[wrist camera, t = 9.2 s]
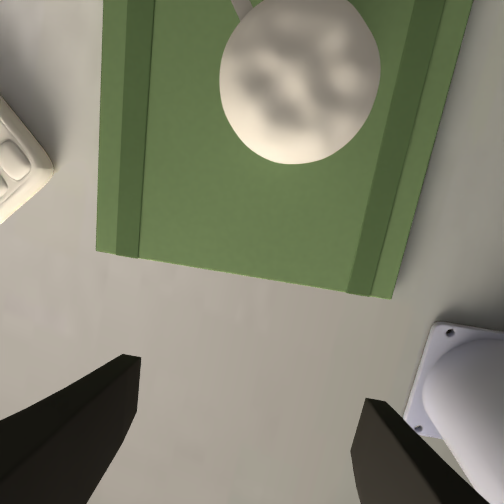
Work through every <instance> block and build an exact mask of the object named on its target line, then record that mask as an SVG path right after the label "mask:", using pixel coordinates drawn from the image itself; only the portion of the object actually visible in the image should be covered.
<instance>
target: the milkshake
mask: <svg viewBox="0 0 504 504" xmlns="http://www.w3.org/2000/svg"><path fill="white" fill-rule="evenodd" d="M230 1H231V3H232V5H233V7H234V9H235V11H236V13H237V16H238V18H239V20H240V23H239V24H238V25H237V27H236V28H235V30H234V31H233V33H232V34H231V36H230V38H229V40H228V42H227V44H226V46H225V49H224V52H223V55H222V60H221V65H220V77H219V84H220V96H221V101H222V106H223V109H224V112H225V115H226V117H227V119H228V121H229V123H230V125H231V127H232V128H233V130H234V131H235V133H236V134H237V135H238V137H239V138H240V139H241V141H242V142H243V143H244V144H245V145H246V146H247V147H248V148H250V149H251V150H252V151H253V152H255V153H256V154H258V155H260V156H261V157H263V158H265V159H268V160H270V161H273V162H276V163H282V164H303V163H310V162H314V161H318V160H321V159H324V158H326V157H328V156H330V155H332V154H334V153H335V152H337V151H338V150H339V149H341V148H342V147H343V146H345V145H346V144H347V143H348V142H349V141H350V140H351V139H352V138H353V137H354V136H355V135H356V134H357V132H358V131H359V130H360V129H361V127H362V126H363V124H364V123H365V121H366V119H367V117H368V116H369V113H370V111H371V109H372V106H373V104H374V101H375V98H376V95H377V91H378V87H379V81H380V73H381V64H380V56H379V51H378V47H377V44H376V41H375V39H374V37H373V35H372V33H371V31H370V29H369V28H368V26H367V25H366V23H365V21H364V20H363V18H362V17H361V15H360V14H359V12H358V11H357V10H356V8H355V7H354V6H353V5H352V4H351V3H350V2H349V1H347V0H263V1H262V2H261V3H259V4H258V5H257V6H255V7H254V8H253V6H252V4H251V1H250V0H230Z"/></svg>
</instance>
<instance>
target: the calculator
mask: <svg viewBox="0 0 504 504" xmlns="http://www.w3.org/2000/svg"><path fill="white" fill-rule="evenodd" d="M53 171H54V168H53V164H52V162H51V160H50V158H49V156H48V155H47V153H46V152H45V151H44V149H43V148H42V146H41V145H40V144H39V143H38V141H37V140H36V139H35V138H34V136H33V135H32V134H31V133H30V131H29V130H28V129H27V128H26V126H25V125H24V124H23V123H22V121H21V120H20V119H19V118H18V116H17V115H16V114H15V113H14V111H13V110H12V109H11V108H10V107H9V105H8V104H7V103H6V102H5V100H4V99H3V98H2V97H1V95H0V224H1V223H3V222H4V221H5V220H6V219H7V218H8V217H10V216H11V215H12V214H13V213H14V212H15V211H16V210H18V209H19V208H20V207H21V206H22V205H23V204H24V203H26V202H27V201H28V200H29V199H30V198H31V197H32V196H34V195H35V194H36V193H37V192H38V191H39V190H40V189H41V188H42V187H43V186H45V185H46V184H47V183H48V182H49V180H50V179H51V177H52V176H53Z"/></svg>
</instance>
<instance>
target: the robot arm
mask: <svg viewBox="0 0 504 504" xmlns="http://www.w3.org/2000/svg"><path fill="white" fill-rule="evenodd" d="M449 329H452V331H451V332H450V333H449V334H446V332H447V330H449ZM140 367H141V357H136V356H131V355H125V354H122V355H120V356H118V357H117V358H115V359H113V360H111V361H110V362H108V363H106V364H105V365H103V366H101V367H100V368H98V369H96V370H95V371H93V372H91V373H90V374H88V375H86V376H85V377H83V378H81V379H79V380H78V381H76V382H74V383H72V384H71V385H69V386H67V387H66V388H64V389H62V390H60V391H58V392H56V393H54V394H52V395H51V396H49V397H47V398H45V399H43V400H41V401H39V402H37V403H35V404H34V405H32V406H30V407H28V408H26V409H24V410H22V411H20V412H18V413H15V414H13V415H11V416H9V417H7V418H5V419H3V420H0V504H86V503H87V502H88V500H89V498H90V497H91V495H92V493H93V492H94V490H95V488H96V487H97V485H98V483H99V482H100V480H101V478H102V477H103V475H104V473H105V472H106V470H107V468H108V467H109V465H110V463H111V462H112V460H113V458H114V457H115V455H116V453H117V451H118V450H119V448H120V446H121V445H122V443H123V441H124V438H125V436H126V434H127V432H128V430H129V428H130V425H131V423H132V421H133V419H134V416H135V414H136V412H137V403H138V391H139V379H140ZM418 425H420V426H419V427H416V426H418ZM415 427H416V428H415ZM419 435H422V436H428V437H433V438H439V439H443V440H444V441H445V443H446V444H447V446H448V447H449V449H450V451H451V452H452V454H453V455H454V457H455V459H456V460H457V462H458V463H459V465H460V466H461V468H462V470H463V471H464V473H465V474H466V476H467V477H468V479H469V481H470V482H471V484H472V485H473V487H474V489H475V490H476V491H475V490H474V489H473V488H472V487H471V486H470V485H469V484H468V483H467V482H466V481H465V480H464V479H463V478H462V477H460V476H459V475H458V474H457V473H456V472H455V471H454V470H453V469H452V468H451V467H450V466H449V465H448V464H447V463H446V462H445V461H444V460H443V459H442V458H441V457H440V456H439V455H438V454H437V453H436V452H435V451H434V450H433V449H432V448H431V447H430V446H429V445H428V444H427V443H426V442H425V441H424V440H423V439H422V438H421V437H420V436H419ZM351 457H352V464H353V471H354V476H355V482H356V487H357V491H358V495H359V499H360V502H361V504H504V332H502V331H496V330H490V329H484V328H478V327H472V326H466V325H460V324H454V323H448V322H436V323H434V324H433V325H432V327H431V330H430V333H429V336H428V339H427V342H426V346H425V349H424V352H423V355H422V358H421V361H420V365H419V368H418V371H417V374H416V377H415V381H414V384H413V387H412V390H411V393H410V396H409V400H408V403H407V406H406V409H405V412H404V416H403V418H402V417H401V416H400V415H399V414H398V413H397V412H396V411H395V410H394V409H393V408H392V407H391V406H390V405H389V404H388V403H386V402H385V401H380V400H375V399H369V398H366V399H365V402H364V406H363V409H362V413H361V416H360V420H359V423H358V427H357V430H356V433H355V437H354V440H353V444H352V447H351Z"/></svg>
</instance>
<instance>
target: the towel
mask: <svg viewBox="0 0 504 504" xmlns="http://www.w3.org/2000/svg"><path fill="white" fill-rule="evenodd" d="M250 1H251V4H252V6H253V8H254V7H255V6H257V5H258V4H259V3H261V2H262V1H263V0H250ZM347 1H349V2H350V3H351V4H352V5H353V6H354V7H355V8H356V10H357V11H358V12H359V14H360V15H361V17H362V18H363V20H364V21H365V23H366V25H367V26H368V28H369V29H370V31H371V33H372V35H373V37H374V39H375V41H376V44H377V47H378V51H379V56H380V64H381V73H380V81H379V87H378V91H377V95H376V98H375V101H374V104H373V106H372V109H371V111H370V113H369V116H368V117H367V119H366V121H365V123H364V124H363V126H362V127H361V129H360V130H359V131H358V132H357V134H356V135H355V136H354V137H353V138H352V139H351V140H350V141H349V142H348V143H347V144H346V145H345V146H343V147H342V148H341V149H339V150H338V151H337V152H335V153H334V154H332V155H330V156H328V157H326V158H324V159H321V160H318V161H314V162H310V163H303V164H282V163H276V162H273V161H270V160H268V159H265V158H263V157H261V156H260V155H258V154H256V153H255V152H253V151H252V150H251V149H250V148H248V147H247V146H246V145H245V144H244V143H243V142H242V141H241V139H240V138H239V137H238V135H237V134H236V133H235V131H234V130H233V128H232V127H231V125H230V123H229V121H228V119H227V117H226V115H225V112H224V109H223V106H222V101H221V96H220V84H219V77H220V65H221V60H222V55H223V52H224V49H225V46H226V44H227V42H228V40H229V38H230V36H231V34H232V33H233V31H234V30H235V28H236V27H237V25H238V24H239V23H240V20H239V18H238V16H237V13H236V11H235V9H234V7H233V5H232V3H231V1H230V0H103V32H102V64H101V97H100V130H99V162H98V195H97V227H96V251H99V252H105V253H111V254H116V255H119V256H125V257H131V258H141V259H147V260H153V261H159V262H165V263H171V264H177V265H184V266H190V267H196V268H202V269H208V270H214V271H220V272H226V273H232V274H238V275H244V276H250V277H256V278H262V279H268V280H274V281H280V282H286V283H293V284H299V285H305V286H311V287H317V288H323V289H329V290H335V291H341V292H346V293H349V294H355V295H361V296H367V297H370V296H371V297H377V298H383V299H389V300H390V299H391V298H392V295H393V291H394V287H395V284H396V280H397V277H398V273H399V269H400V266H401V262H402V258H403V255H404V251H405V247H406V244H407V240H408V236H409V233H410V229H411V226H412V222H413V218H414V215H415V211H416V207H417V204H418V200H419V196H420V193H421V189H422V185H423V182H424V178H425V175H426V171H427V167H428V164H429V160H430V156H431V153H432V149H433V145H434V142H435V138H436V134H437V131H438V127H439V123H440V120H441V116H442V113H443V109H444V105H445V102H446V98H447V94H448V91H449V87H450V83H451V80H452V76H453V72H454V69H455V65H456V62H457V58H458V54H459V51H460V47H461V43H462V40H463V36H464V32H465V29H466V25H467V21H468V18H469V14H470V11H471V7H472V3H473V0H347Z"/></svg>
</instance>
